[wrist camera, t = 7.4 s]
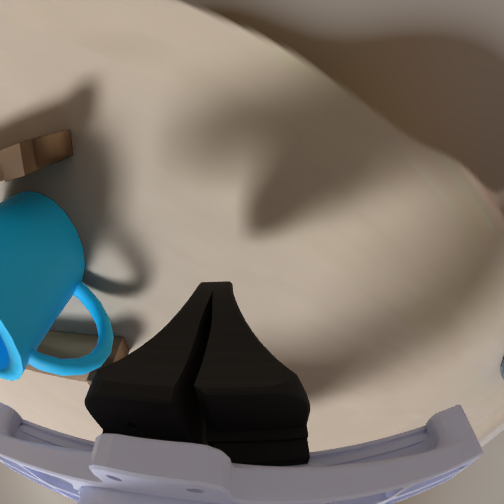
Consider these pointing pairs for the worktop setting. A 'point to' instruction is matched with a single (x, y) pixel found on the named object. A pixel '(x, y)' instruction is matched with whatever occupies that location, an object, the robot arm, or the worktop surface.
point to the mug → (42, 286)
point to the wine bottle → (502, 369)
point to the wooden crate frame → (23, 163)
